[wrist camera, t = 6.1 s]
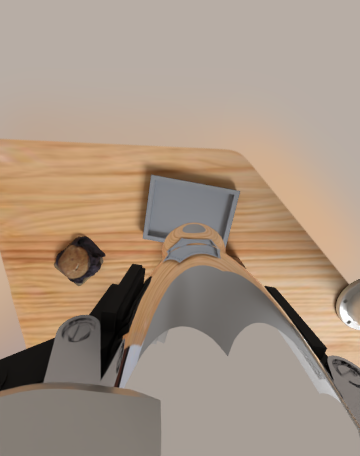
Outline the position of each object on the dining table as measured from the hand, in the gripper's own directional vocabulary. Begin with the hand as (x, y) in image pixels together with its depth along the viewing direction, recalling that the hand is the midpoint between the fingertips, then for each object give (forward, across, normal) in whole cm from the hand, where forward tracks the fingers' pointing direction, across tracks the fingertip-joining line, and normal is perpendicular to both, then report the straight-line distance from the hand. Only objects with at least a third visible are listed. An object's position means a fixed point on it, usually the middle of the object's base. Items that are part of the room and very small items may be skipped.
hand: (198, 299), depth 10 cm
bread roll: (+27, +22, +14) cm, 37 cm away
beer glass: (+7, 0, 0) cm, 7 cm away
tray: (+26, 0, -1) cm, 26 cm away
